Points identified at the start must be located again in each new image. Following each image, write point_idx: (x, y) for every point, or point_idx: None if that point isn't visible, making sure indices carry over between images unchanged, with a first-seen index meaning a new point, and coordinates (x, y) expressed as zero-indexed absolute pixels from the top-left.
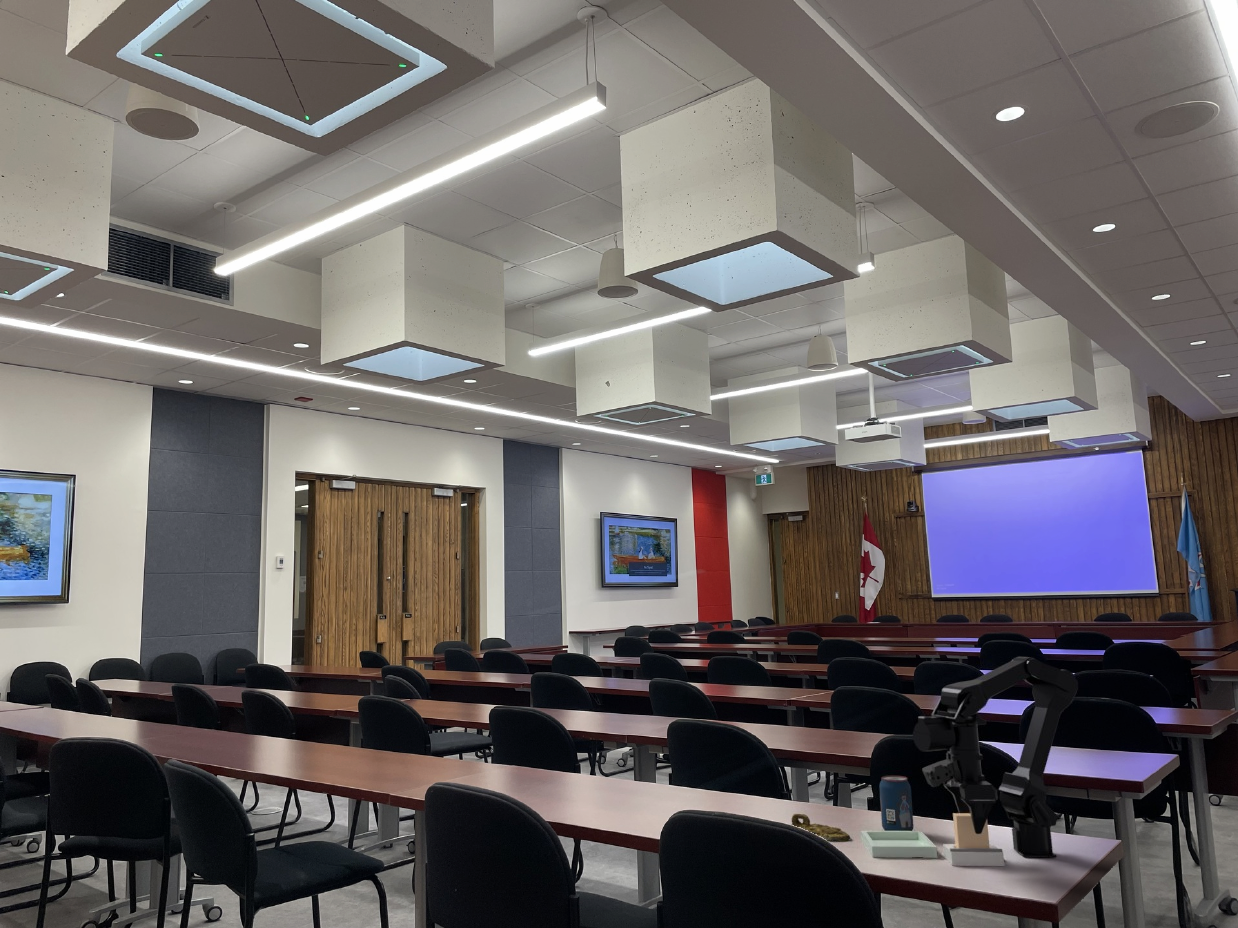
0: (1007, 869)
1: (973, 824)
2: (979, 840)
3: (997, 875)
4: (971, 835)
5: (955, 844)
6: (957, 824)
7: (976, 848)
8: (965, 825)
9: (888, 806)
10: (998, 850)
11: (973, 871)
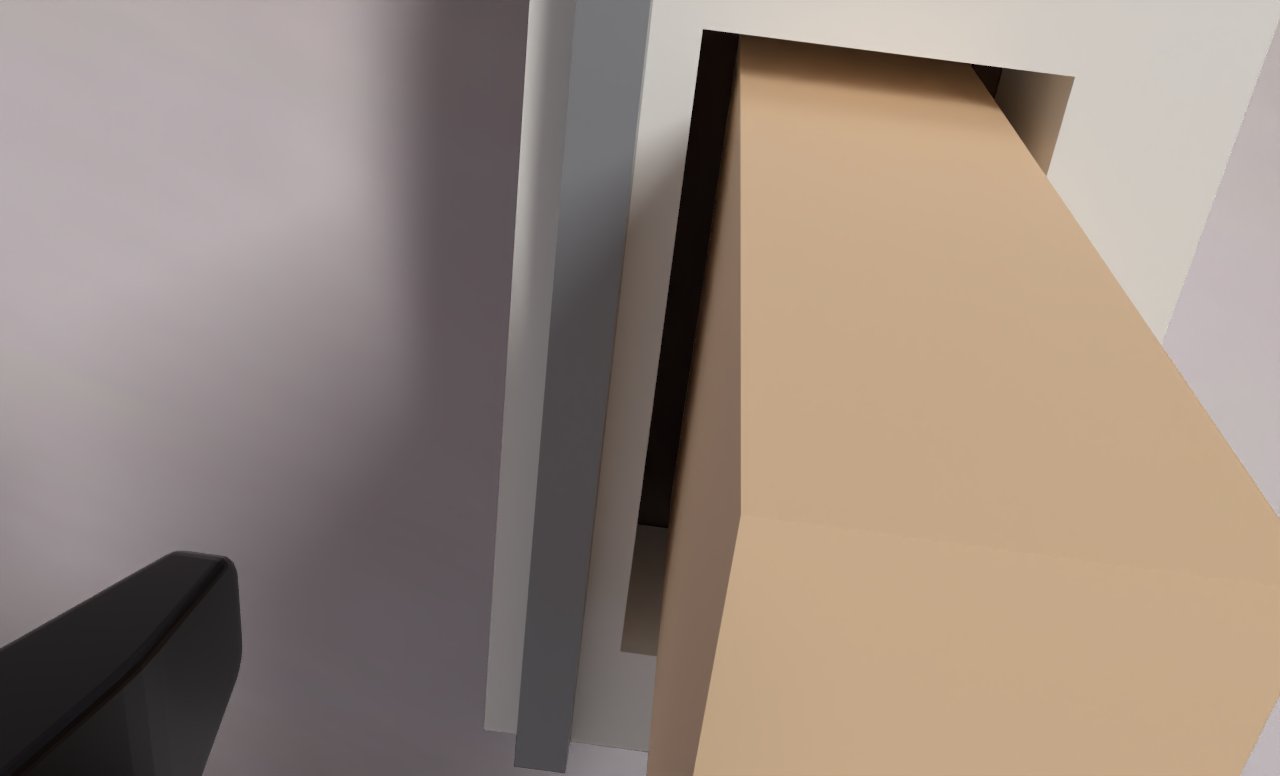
0: (356, 563)
1: (20, 670)
2: (673, 590)
3: (41, 321)
4: (690, 518)
5: (1020, 140)
6: (738, 351)
7: (601, 416)
8: (697, 562)
9: None
10: (519, 702)
11: (216, 48)
